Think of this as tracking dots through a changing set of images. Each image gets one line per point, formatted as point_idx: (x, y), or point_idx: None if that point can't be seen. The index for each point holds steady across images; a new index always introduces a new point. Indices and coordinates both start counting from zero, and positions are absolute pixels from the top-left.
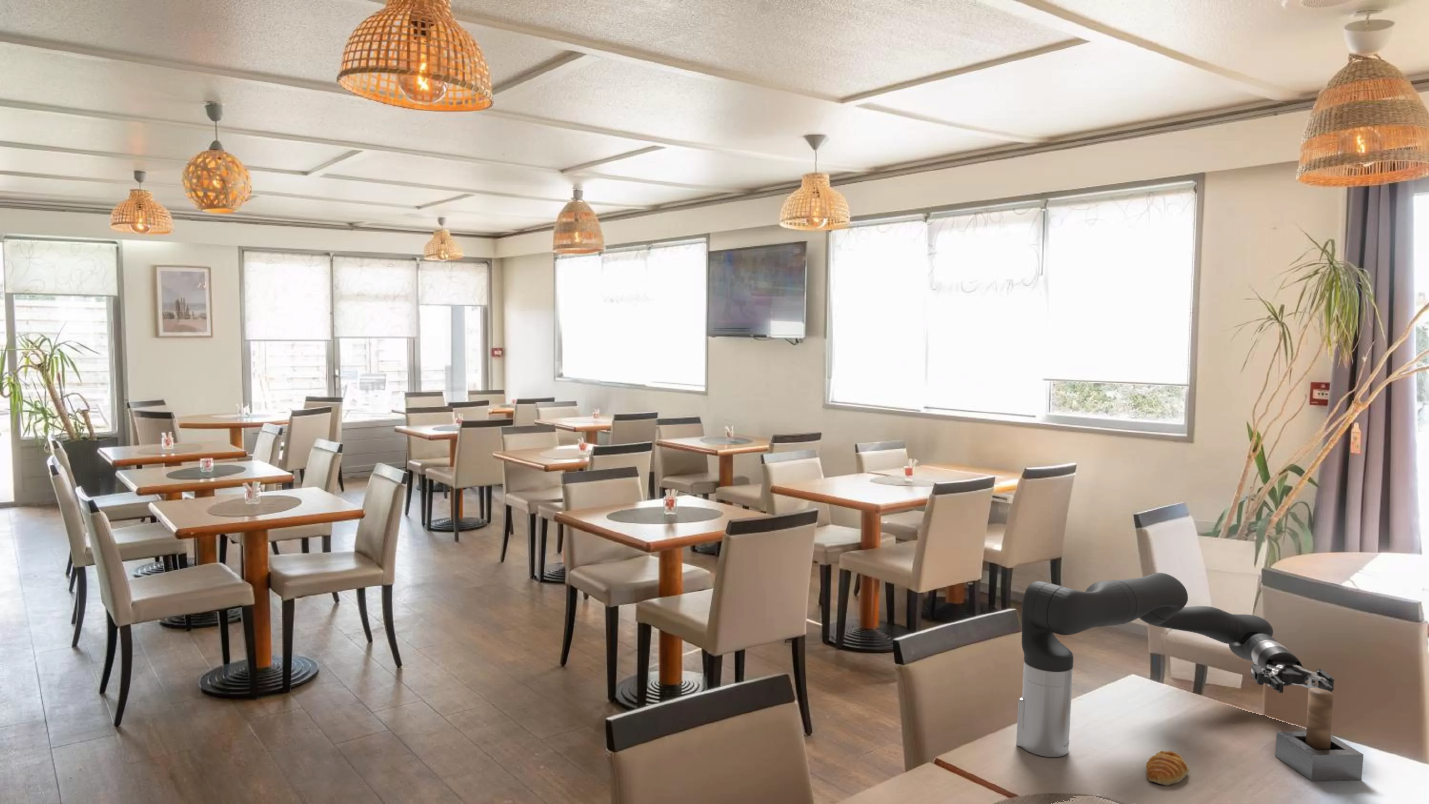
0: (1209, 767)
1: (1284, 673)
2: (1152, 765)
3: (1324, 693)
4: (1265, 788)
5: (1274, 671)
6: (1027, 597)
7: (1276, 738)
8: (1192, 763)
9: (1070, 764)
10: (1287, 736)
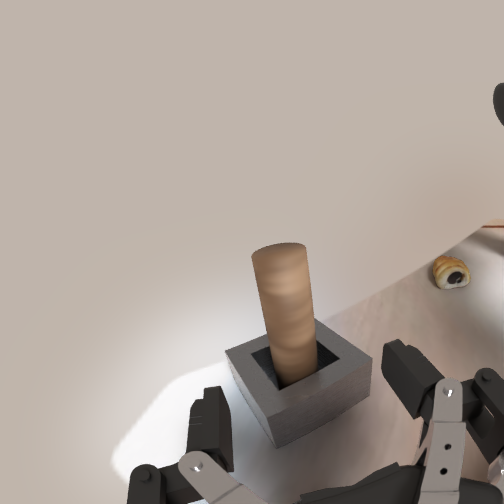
0: (431, 310)
1: (402, 467)
2: (454, 257)
3: (272, 250)
4: (365, 307)
5: (449, 421)
6: None
7: (371, 369)
8: (448, 307)
9: (498, 254)
10: (351, 351)
